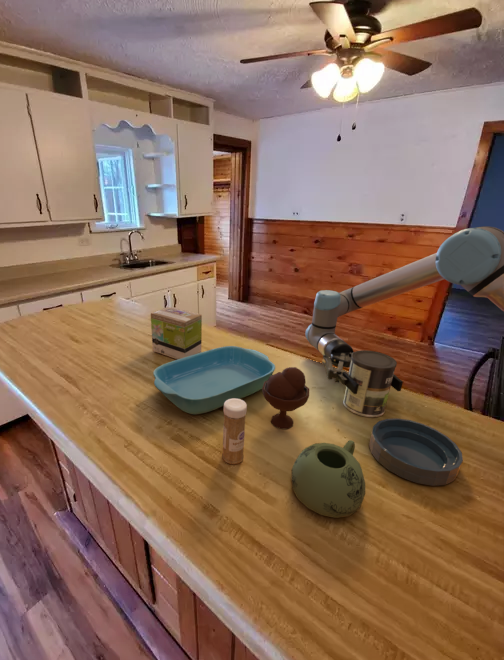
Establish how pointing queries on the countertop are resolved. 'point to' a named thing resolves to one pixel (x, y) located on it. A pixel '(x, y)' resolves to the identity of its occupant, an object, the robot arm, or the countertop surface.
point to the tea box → (176, 332)
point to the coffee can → (370, 383)
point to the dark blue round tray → (415, 451)
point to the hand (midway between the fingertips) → (378, 387)
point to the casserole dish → (213, 378)
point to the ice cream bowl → (286, 394)
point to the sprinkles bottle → (234, 430)
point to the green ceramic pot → (329, 479)
